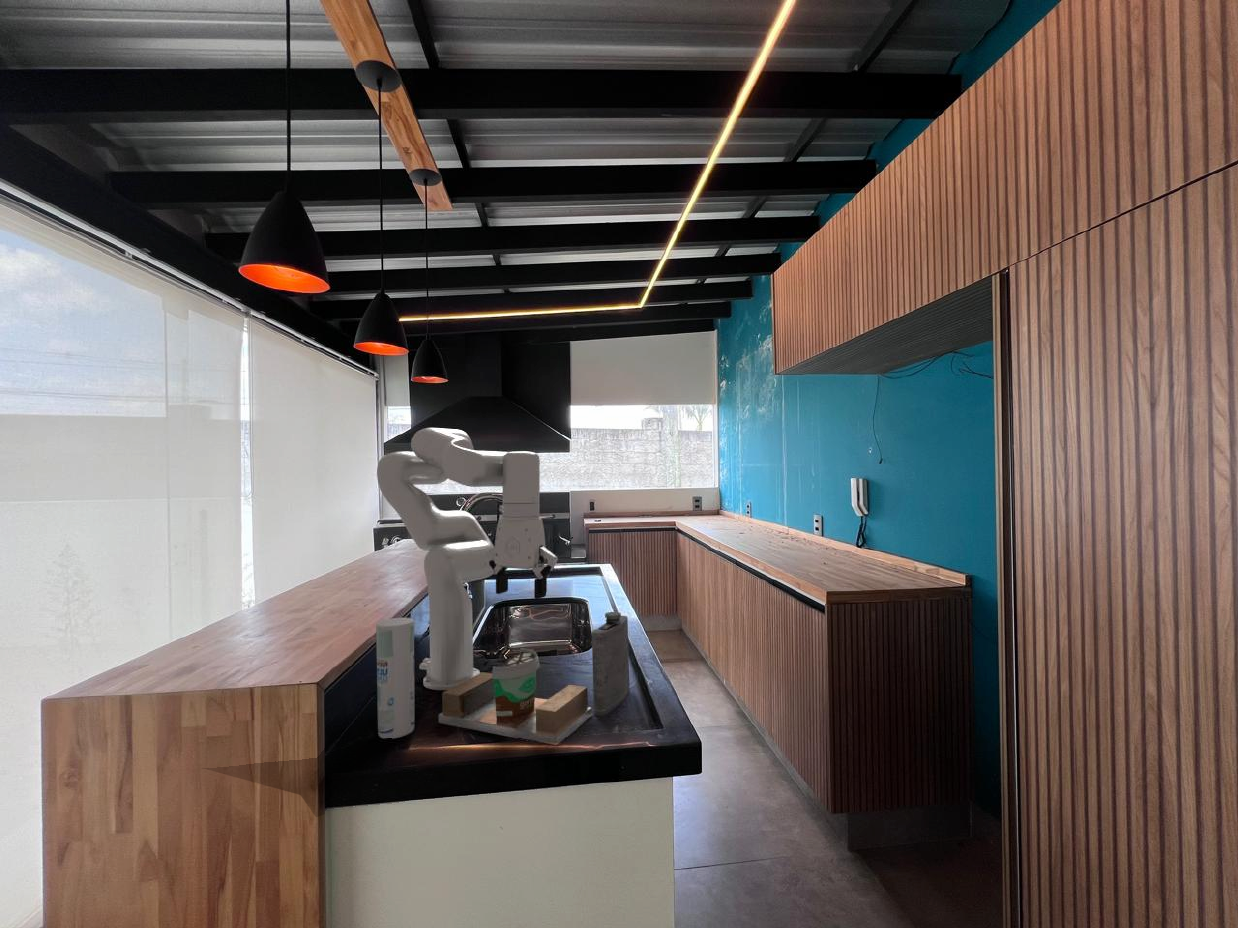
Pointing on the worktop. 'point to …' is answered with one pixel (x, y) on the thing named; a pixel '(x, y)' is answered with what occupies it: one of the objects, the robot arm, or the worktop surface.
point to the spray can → (395, 677)
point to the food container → (515, 685)
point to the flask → (610, 663)
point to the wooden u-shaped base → (546, 722)
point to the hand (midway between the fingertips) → (520, 594)
